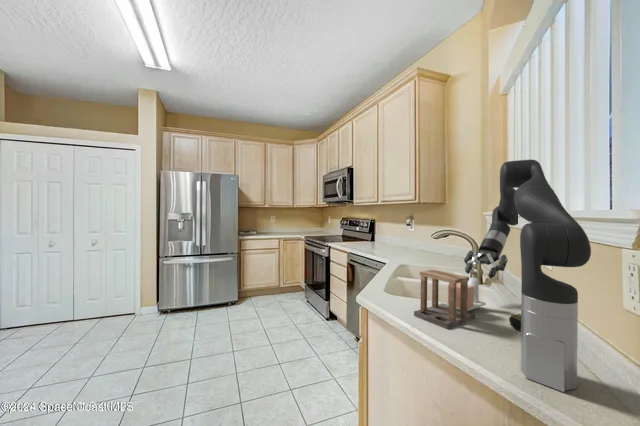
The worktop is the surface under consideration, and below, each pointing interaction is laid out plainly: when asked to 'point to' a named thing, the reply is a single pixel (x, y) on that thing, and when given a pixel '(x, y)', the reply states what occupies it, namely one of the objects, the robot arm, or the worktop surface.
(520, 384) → the worktop surface
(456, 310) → the brown table-shaped piece
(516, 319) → the tape measure
